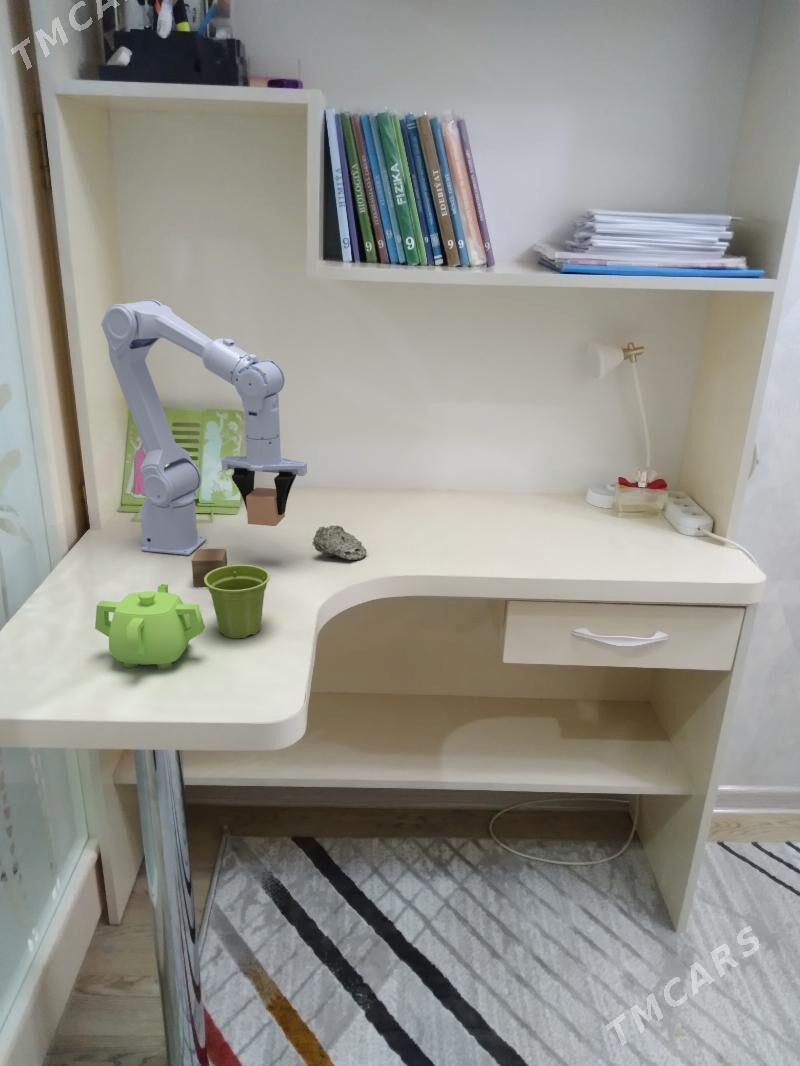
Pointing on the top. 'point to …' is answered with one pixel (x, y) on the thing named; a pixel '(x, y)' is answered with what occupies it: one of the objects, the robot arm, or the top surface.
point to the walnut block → (207, 563)
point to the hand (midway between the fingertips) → (266, 511)
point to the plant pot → (238, 598)
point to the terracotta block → (263, 507)
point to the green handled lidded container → (149, 627)
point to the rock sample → (338, 543)
